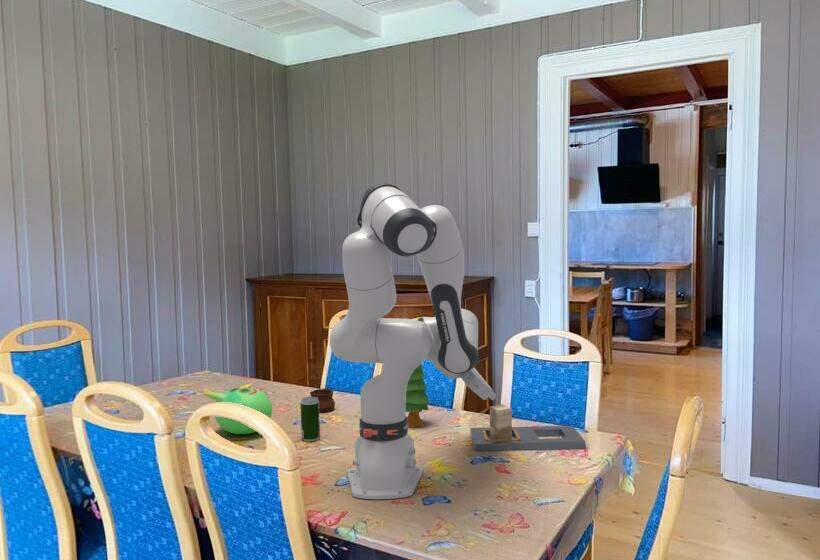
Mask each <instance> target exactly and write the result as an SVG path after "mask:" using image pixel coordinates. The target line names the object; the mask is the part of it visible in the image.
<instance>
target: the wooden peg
mask: <svg viewBox="0 0 820 560" xmlns="http://www.w3.org/2000/svg"><path fill="white" fill-rule="evenodd" d="M512 413H513V409H512V407H510V406H508V405H505V404H497V405H491V406H489V428H490V438H489V439H513V437H512V427H513V423H512V422H513V419H512V418H513V417H512Z"/></svg>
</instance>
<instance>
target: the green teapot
mask: <svg viewBox="0 0 820 560" xmlns="http://www.w3.org/2000/svg"><path fill="white" fill-rule="evenodd" d="M252 385H253V383H247V384H244V385H241V386H239V387H238V386H237V387H234V388H231V389H229V390H227V391H224V392H213V391H204V392H203V394H204V396H206V397H208V398H210V399H211V400H214V401H216V402H232V403H237V404H240V405H244V406H247V407H250V408H253V409H255V410H257V411H260V412H261V413H263V414H265V415H267V416H268V417H270V419H271V418H272V415H273V404H272V401H271V399H270V398H269V397H268V396H267V394H265V393H264V392H263V391H262V390H261V389H257V388H255V387H252ZM216 402H215V403H216ZM214 419H215V422H216V423H217V425H218V426H219V427H220V428H222V430H223V431H226V432H228V433H229V434H230V433H231V434H233V435H239V434H244V435H250V434H254V433H257V432H256V431H254V430H253V429H251V428H249V427H248V426H246V425H244V424H242V423H240V422H238V421H235V420H232V419H228V418H223V417H214Z"/></svg>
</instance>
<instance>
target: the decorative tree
mask: <svg viewBox="0 0 820 560" xmlns="http://www.w3.org/2000/svg"><path fill="white" fill-rule="evenodd" d="M422 368H423V364H422V363H421V364H420V365H419V366H418V367H417V368H416V369H415V370H414V371H413V373H412V375H411V376H410V378H409V381H408V384H407V389H406V413H408V415H407V420H408V427H409V428H421V427H423V426H424V425H425V422H424V421H423V420H422V419H421V417H420V413H421V412H423V411H429V406H428V404H430V399H429V396H428V395H427V393H426V391H428V386H427V384H426V382H425V380H424V378H426V376H425V373H424V370H423V369H422ZM423 424H424V425H423ZM422 425H423V426H422Z"/></svg>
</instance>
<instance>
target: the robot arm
mask: <svg viewBox="0 0 820 560" xmlns="http://www.w3.org/2000/svg"><path fill="white" fill-rule="evenodd" d="M356 222H357V225H358V226H359V228H360V229H359V230H357V231H355V232H353V233H350V234H349V235H348V236H347V237H346V238H345V239H344V241H343V243H342V248H341V249H342V250H341V251H342V252H341V253H342V254H341V258H342V259H341V261H342V270H343V276H344V282H345V286H346V291H347V298H348V310H347V313H346V315H345V316H344V317H343V318H341V319H340V320H338V322H337V323H336V324H335V325H334V326H333V328H332V330H331V331H330V336H329V346H330V349H331V352H332V354H333V355H334V356H335V357H336V358H337V359H338V360H342V361H345V362H350V363H355V364H362V363H364V364H381V365H383V370H382V372H381V373H380V374H378V375H376V376H374V377H372V378H370V379H368V380H367V381H366V382H364V383H363V385H362V387H361V388H360V418H359V424H358V429H359V436H358V438H356V439H355V440H354V459H353V461H352V465H353V467H351V468H347V472H346V476H347V480H348V484H349V488H350V492H351V496H352V497H353V498H358V499H363V500H364V499H365V500H392V499H393V500H394V499H403V498H407V497H410V496H412V495H413V494H414V493H415V490H416V488H417V487H418V484H419V481H420V479H421V478H422V476H423V473H424V471H423V467H421V466H417V465H416V463H417V462H416V457H415V456H416V448H415V440H414V438H412V437H411V436H410V435H409V433H408V432H409V428H408V420H407V417H408V415H407V416H406V414H407V412H406V389H407V384H408V381H409V378H410V376H411V375H412V373H413V371H414V370H415V369H416V368H417V367H418V366H419V365H420V364H422V363H423V362H424V361H428V362H431V364H433V365H434V367H435V368H436V369H437V370H439V371H440V372H441V373H442V374H444V375H445V376H446V377H447V378H448V379H454V380H455V379H461V380H462V381H463V383H464V384H465V385H466V386H467V387H468V388H469V389H470V390H471V391H472V392H473V393H475V394H476V396H478V397H479V398H480V399H481V400H484V401H485V400H487V399H490V400H491V401H494V400H495V399H496V398H497V394H496V393H495V392H494V390H493V389H492V387H491V386H490V385H489V383H488V382H487V381H486V380H485V378H483V376H482V375H481V373H479V371H478V370H477V369H476V366H477V365H478V364H479V349H478V348H479V319H478V317H477V315H476V314H475V313H474V312H473V311H471V310H469V309H468V308H463V307H462V306H461V305H462V292H463V285H464V278H465V264H466V263H465V252H464V246H463V241H462V238H461V234H460V231H459V228H458V225H457V224H456V220H455V219H454V216H453V215H452V213H451V211H450V210H449V209H448V208H447V207H445V206H442V205H439V204H430V205H427V206H424V207H421V208H420V207H419V206H418V205H417V204H416V203H415V202H414V200H413V199H411V197H410V196H408V195H407V193H404V192H403V191H402V190H401V189H400V188H399V187H397V186H395V185H393V184H391V183H386V182H378V183H375V184H372V185H371V186H370V187H368V188H367V189H366V191H365V192H364V193H363V196H362V198H361V201H360V206H359V213H358V215H357V219H356ZM392 253H393V254H395V255H397V256H401V257H405V258H406V257H407V258H408V257H413V256H416V258H417V262H418V264H419V267H420V270H421V273H422V277H423V279H424V282H425V285H426V288H427V292H428V294H429V298H430V301H431V305H432V309H433V311H434V316H432V317H431V316H430V317H428V316H422V317H419V318H418V319H413V318H385V316H386V315H388V314H389V312H390V311H392V310H393V308H394V307H395V305H396V303H397V299H398V298H397V290H396V284H395V277H394V273H393V267H392V262H391V259H392V258H391V257H392ZM383 317H384V318H383Z"/></svg>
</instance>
